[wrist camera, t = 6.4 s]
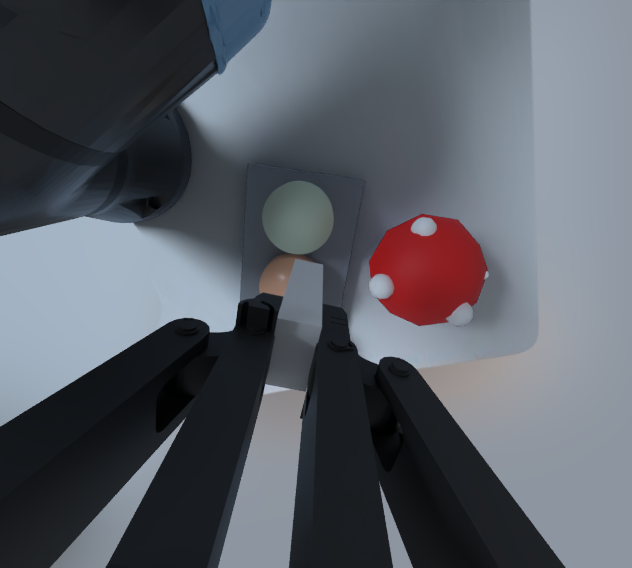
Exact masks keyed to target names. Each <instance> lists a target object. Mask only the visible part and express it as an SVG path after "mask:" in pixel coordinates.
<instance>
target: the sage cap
mask: <svg viewBox="0 0 632 568" xmlns="http://www.w3.org/2000/svg"><path fill="white" fill-rule="evenodd" d="M262 222H263V227H264V230H265V233H266V235H267V236H268V238H269V239H270V241H271V242H272V243H273V244H274V245H275V246H276V247H278V248H279V249H281V250H283V251H285V252H288V253H291V254H307V253H310V252H313V251H315V250H317V249H318V248H320V247H321V246H322V245H323V244H324V243H325V242H326V241H327V239H328V238H329V236H330V234H331V232H332V229H333V223H334V215H333V208H332V205H331V202H330V200H329V198H328V196H327V195H326V194H325V192H324V191H323V190H322V189H321V188H319V187H318V186H316V185H314V184H312V183H310V182H306V181H292V182H288V183H286V184H284V185H282V186H280V187H278V188H277V189H275V190H274V191H273V192H272V193H271V194H270V196H269V197H268V198H267V200H266V202H265V204H264V208H263V212H262Z"/></svg>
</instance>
